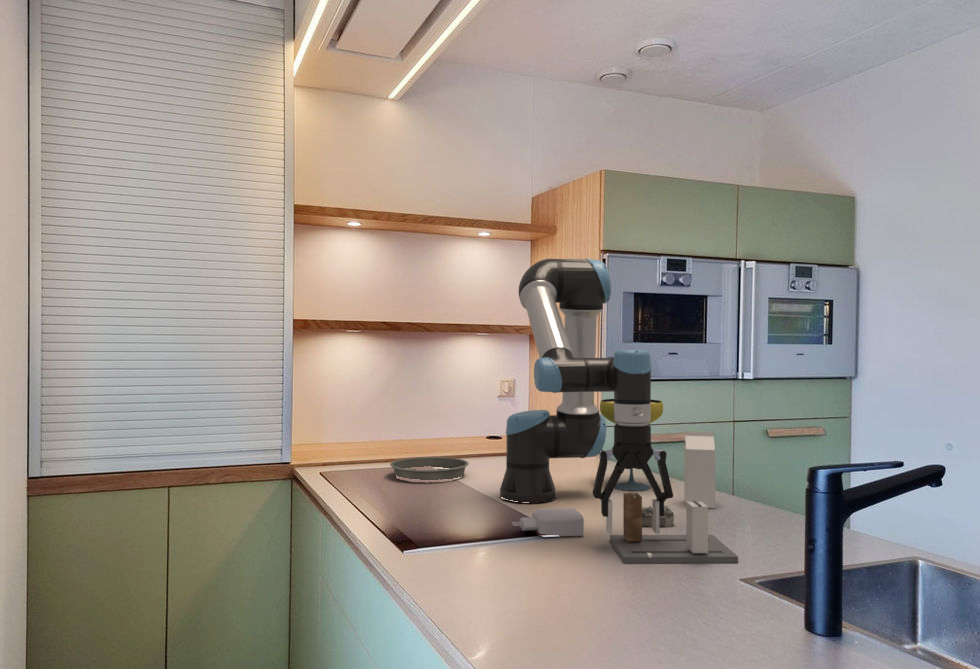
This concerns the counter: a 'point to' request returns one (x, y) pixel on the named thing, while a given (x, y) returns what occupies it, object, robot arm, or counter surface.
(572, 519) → the grey bottle
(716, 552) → the console
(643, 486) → the cocktail glass
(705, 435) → the milk carton
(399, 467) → the cake pan
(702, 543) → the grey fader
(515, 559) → the counter surface
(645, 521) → the egg carton
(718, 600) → the counter surface
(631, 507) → the block
